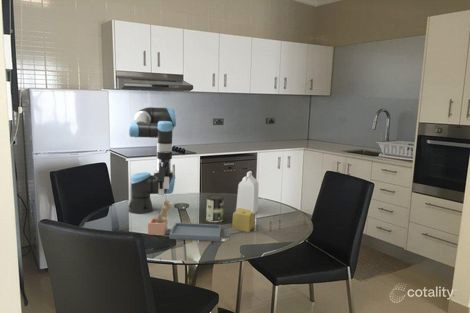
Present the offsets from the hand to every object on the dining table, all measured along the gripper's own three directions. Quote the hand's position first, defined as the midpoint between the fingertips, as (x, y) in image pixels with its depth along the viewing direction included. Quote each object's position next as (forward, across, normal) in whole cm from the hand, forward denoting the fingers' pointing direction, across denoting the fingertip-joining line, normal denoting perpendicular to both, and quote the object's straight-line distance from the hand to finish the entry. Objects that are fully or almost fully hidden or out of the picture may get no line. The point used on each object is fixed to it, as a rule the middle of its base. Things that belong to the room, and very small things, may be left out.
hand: (163, 191), depth 200 cm
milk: (+22, +46, -46) cm, 68 cm away
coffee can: (+22, +26, -26) cm, 42 cm away
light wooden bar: (+21, +1, +1) cm, 21 cm away
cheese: (+22, +12, -43) cm, 50 cm away
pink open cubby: (+22, 0, +3) cm, 22 cm away
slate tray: (+22, 0, -18) cm, 28 cm away
